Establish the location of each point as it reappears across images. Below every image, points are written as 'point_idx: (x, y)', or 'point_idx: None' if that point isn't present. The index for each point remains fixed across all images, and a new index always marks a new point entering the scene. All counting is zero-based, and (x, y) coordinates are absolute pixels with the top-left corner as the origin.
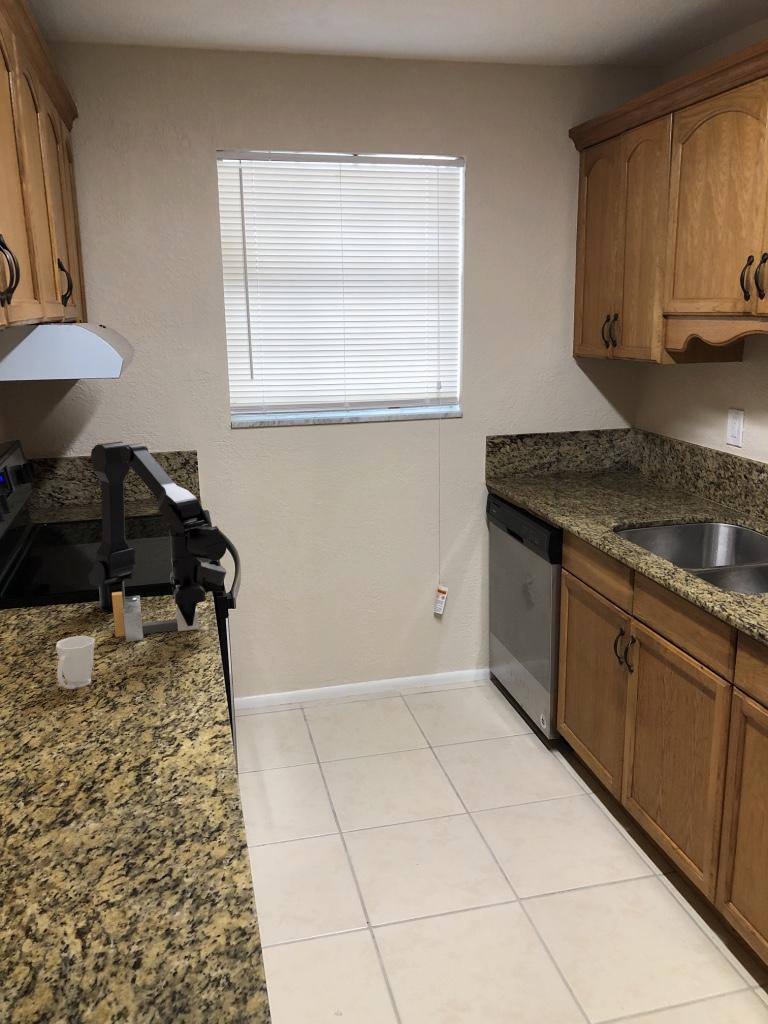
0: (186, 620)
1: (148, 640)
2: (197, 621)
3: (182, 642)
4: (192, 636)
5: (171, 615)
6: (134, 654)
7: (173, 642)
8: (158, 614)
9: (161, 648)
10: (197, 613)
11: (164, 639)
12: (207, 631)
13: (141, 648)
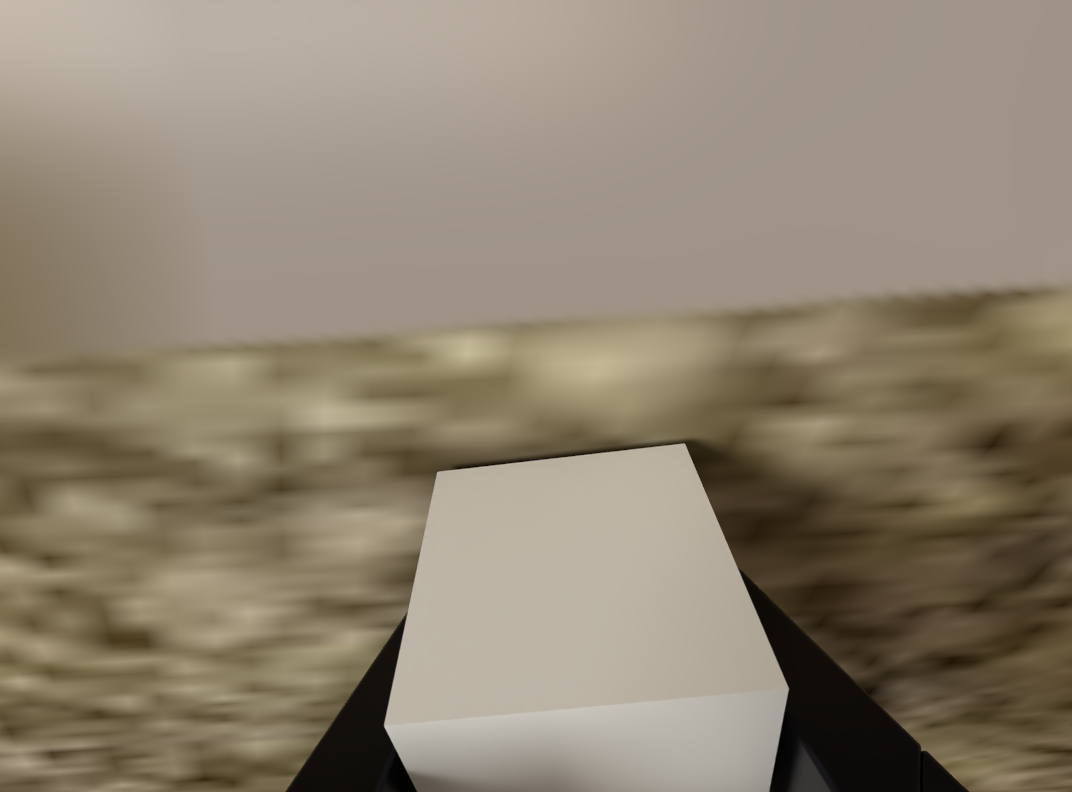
0: None
1: None
2: (717, 536)
3: (1022, 563)
4: (890, 491)
5: (127, 688)
6: (1044, 787)
7: (963, 625)
8: (117, 759)
9: (1053, 682)
10: (766, 655)
11: None
12: (792, 332)
13: None
